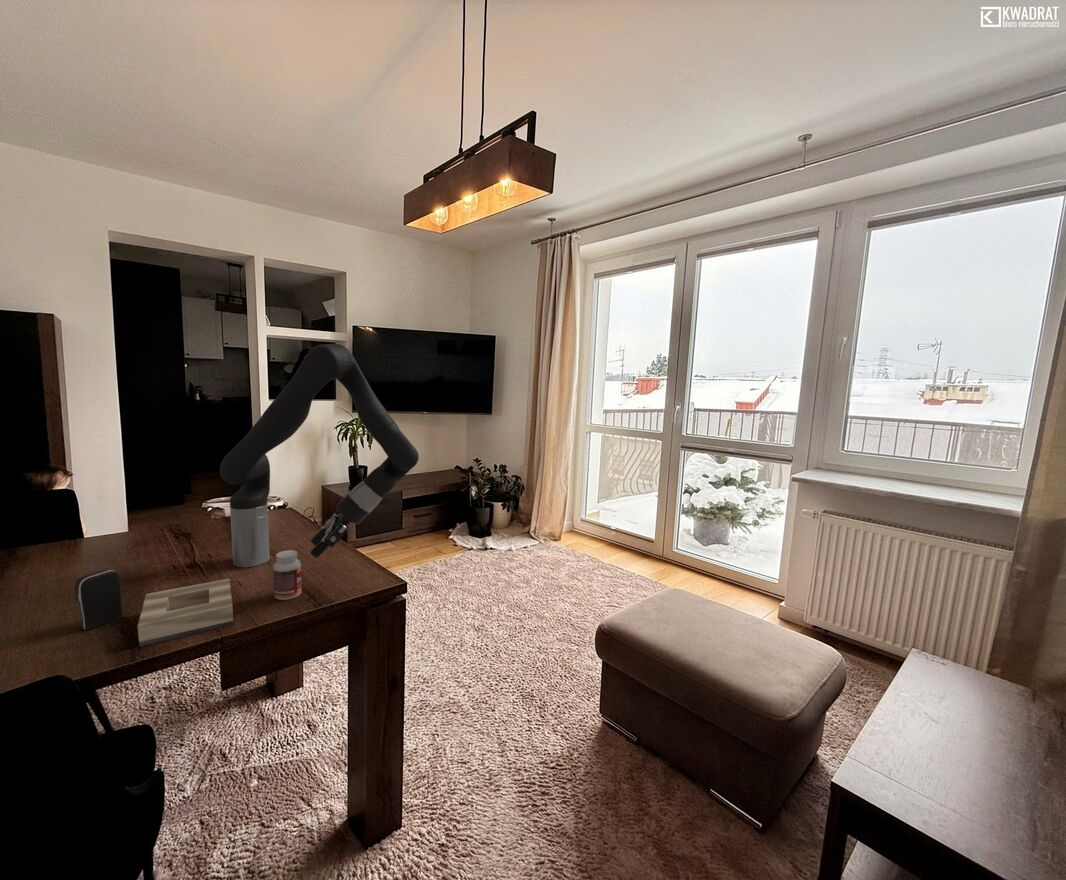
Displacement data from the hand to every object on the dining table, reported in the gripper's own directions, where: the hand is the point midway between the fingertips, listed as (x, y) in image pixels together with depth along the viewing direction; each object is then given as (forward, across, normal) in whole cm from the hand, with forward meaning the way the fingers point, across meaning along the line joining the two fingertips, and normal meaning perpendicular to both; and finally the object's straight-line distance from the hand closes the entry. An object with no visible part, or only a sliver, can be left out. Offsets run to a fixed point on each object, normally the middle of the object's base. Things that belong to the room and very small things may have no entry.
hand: (313, 549), depth 117 cm
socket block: (+26, +4, -10) cm, 28 cm away
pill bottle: (+12, 0, +4) cm, 13 cm away
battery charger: (+38, -1, -22) cm, 44 cm away
